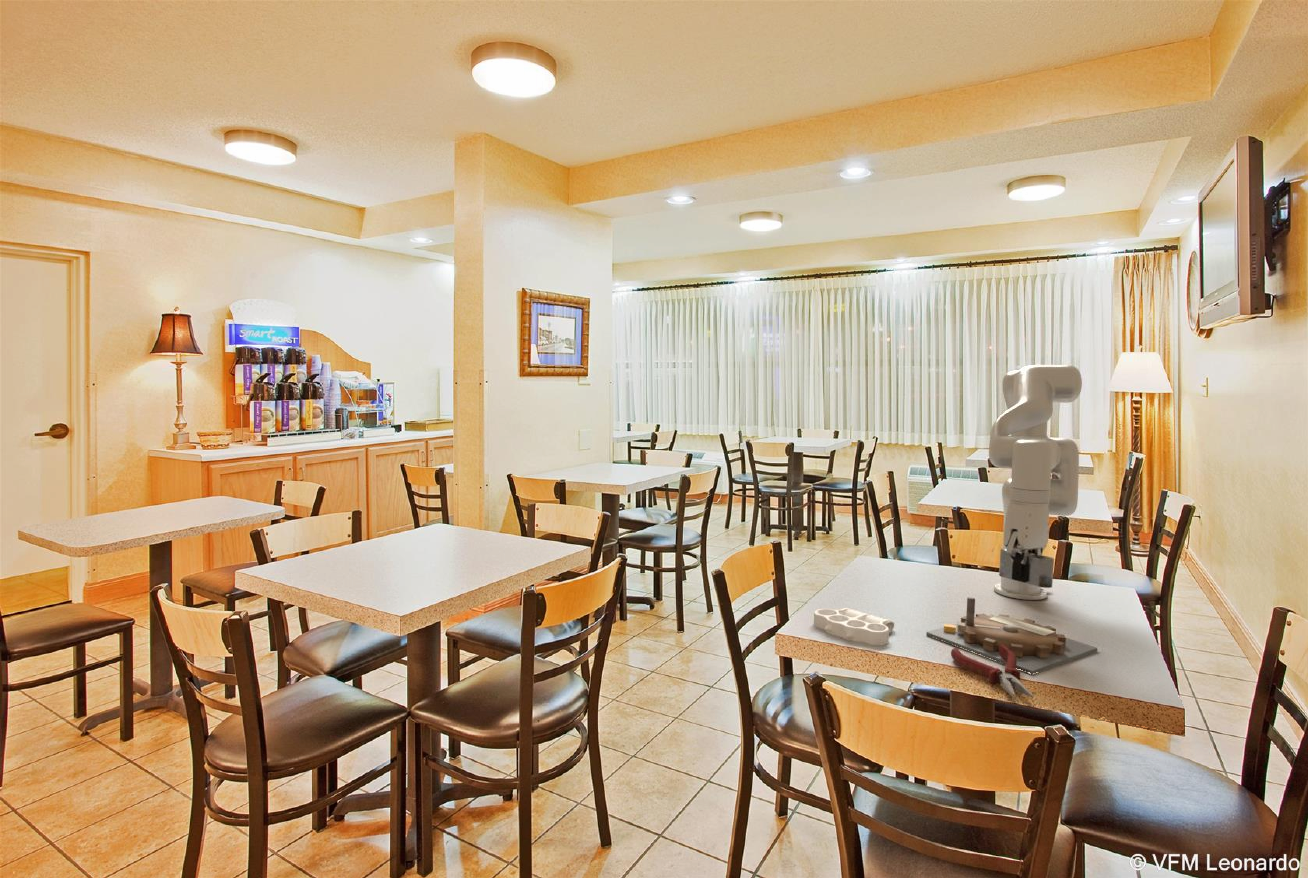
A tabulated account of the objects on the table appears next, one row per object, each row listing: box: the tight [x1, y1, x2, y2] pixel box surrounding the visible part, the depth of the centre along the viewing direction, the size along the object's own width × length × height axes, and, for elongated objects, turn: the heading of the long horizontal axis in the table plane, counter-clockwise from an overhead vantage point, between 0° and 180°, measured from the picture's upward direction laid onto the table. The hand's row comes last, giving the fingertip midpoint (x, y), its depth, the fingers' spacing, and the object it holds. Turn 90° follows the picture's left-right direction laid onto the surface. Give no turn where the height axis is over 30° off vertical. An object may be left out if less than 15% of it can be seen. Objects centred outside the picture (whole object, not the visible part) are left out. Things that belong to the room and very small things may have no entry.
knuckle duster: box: [813, 607, 895, 646], centre depth 156 cm, size 3×18×15 cm
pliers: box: [950, 645, 1034, 700], centre depth 131 cm, size 12×20×3 cm, turn 177°
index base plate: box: [925, 613, 1098, 674], centre depth 150 cm, size 24×24×2 cm
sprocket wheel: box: [957, 596, 1067, 658], centre depth 150 cm, size 21×21×8 cm
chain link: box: [998, 547, 1055, 589], centre depth 151 cm, size 3×11×6 cm, turn 31°
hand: (1025, 578), depth 151 cm, fingers closed on chain link, 3 cm apart
